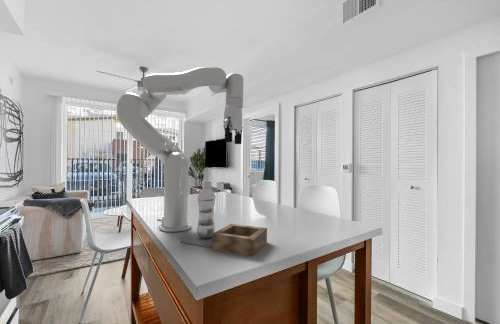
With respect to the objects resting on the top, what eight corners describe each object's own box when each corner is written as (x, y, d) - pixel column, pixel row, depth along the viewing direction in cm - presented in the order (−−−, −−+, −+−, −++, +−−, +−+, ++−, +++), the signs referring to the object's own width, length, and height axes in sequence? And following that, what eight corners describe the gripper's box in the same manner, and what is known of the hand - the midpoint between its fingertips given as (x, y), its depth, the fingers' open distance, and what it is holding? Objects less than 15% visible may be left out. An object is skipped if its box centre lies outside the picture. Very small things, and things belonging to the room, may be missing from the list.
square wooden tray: (212, 249, 77) (212, 233, 77) (230, 237, 90) (231, 223, 90) (253, 256, 72) (253, 239, 72) (266, 242, 85) (267, 228, 85)
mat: (180, 242, 83) (180, 241, 83) (199, 233, 94) (199, 232, 94) (210, 247, 78) (210, 246, 78) (227, 237, 90) (227, 236, 90)
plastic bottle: (199, 241, 83) (200, 183, 83) (195, 235, 89) (196, 181, 89) (217, 239, 86) (218, 182, 86) (212, 233, 92) (213, 181, 92)
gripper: (234, 108, 114) (233, 144, 114) (216, 99, 98) (215, 141, 98) (249, 107, 111) (248, 144, 111) (233, 97, 95) (232, 141, 95)
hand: (233, 143), depth 105 cm, fingers open, 9 cm apart
